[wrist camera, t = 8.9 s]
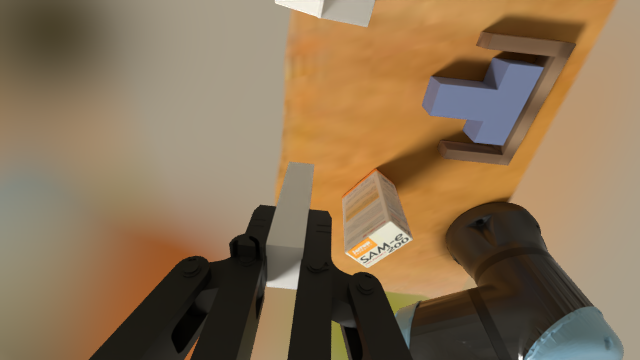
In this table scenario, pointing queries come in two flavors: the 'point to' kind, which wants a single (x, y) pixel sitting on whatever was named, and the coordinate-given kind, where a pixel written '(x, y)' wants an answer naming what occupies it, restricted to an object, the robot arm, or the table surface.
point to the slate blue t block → (484, 99)
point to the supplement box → (373, 220)
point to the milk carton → (334, 9)
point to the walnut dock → (553, 61)
